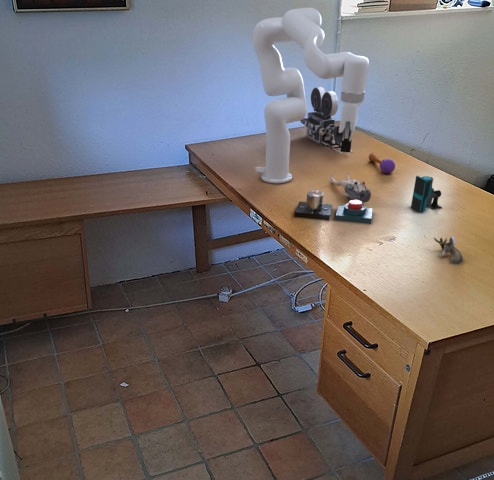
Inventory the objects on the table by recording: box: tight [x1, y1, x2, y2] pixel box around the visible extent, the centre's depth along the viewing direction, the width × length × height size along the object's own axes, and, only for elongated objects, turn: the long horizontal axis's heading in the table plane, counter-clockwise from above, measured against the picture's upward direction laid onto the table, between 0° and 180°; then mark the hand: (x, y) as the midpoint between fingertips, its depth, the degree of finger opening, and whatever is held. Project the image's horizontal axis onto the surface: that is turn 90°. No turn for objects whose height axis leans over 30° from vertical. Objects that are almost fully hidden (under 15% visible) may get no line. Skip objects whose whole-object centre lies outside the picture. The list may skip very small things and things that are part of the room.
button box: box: [334, 202, 374, 225], centre depth 193 cm, size 12×9×4 cm
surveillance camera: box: [410, 175, 443, 214], centre depth 196 cm, size 6×12×10 cm
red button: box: [348, 199, 363, 210], centre depth 192 cm, size 4×4×2 cm
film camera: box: [299, 86, 354, 155], centre depth 261 cm, size 40×12×24 cm, turn 17°
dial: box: [305, 189, 324, 211], centre depth 195 cm, size 6×6×6 cm
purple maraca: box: [368, 152, 396, 175], centre depth 236 cm, size 6×6×20 cm
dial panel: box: [294, 201, 334, 221], centre depth 197 cm, size 12×10×2 cm
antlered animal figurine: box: [433, 235, 464, 265], centre depth 166 cm, size 8×7×9 cm
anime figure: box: [329, 173, 372, 204], centre depth 210 cm, size 10×7×30 cm
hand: (345, 151), depth 192 cm, fingers closed
